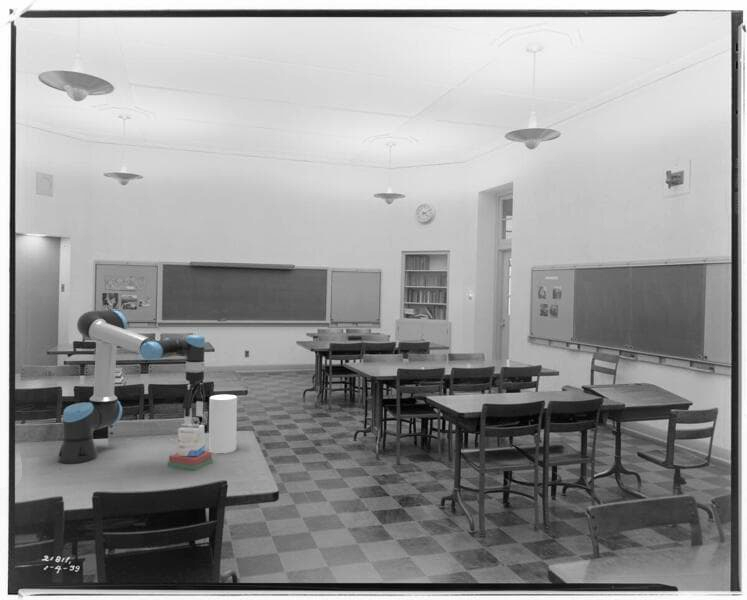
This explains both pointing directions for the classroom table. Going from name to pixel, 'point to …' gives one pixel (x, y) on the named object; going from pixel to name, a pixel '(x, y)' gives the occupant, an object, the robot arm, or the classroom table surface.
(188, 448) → the ink box
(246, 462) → the classroom table surface
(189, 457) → the book stack
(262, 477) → the classroom table surface
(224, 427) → the cylinder
